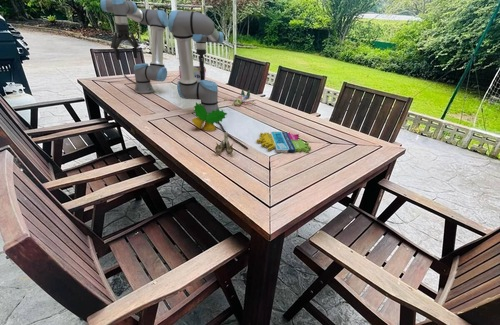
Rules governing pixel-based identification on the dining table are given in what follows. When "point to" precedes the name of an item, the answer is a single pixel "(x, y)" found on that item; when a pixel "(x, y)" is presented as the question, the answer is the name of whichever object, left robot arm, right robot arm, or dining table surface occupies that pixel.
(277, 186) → the dining table surface
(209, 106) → the right robot arm
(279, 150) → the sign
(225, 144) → the jawbone
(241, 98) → the toy
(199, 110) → the ornament
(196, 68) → the gum box
